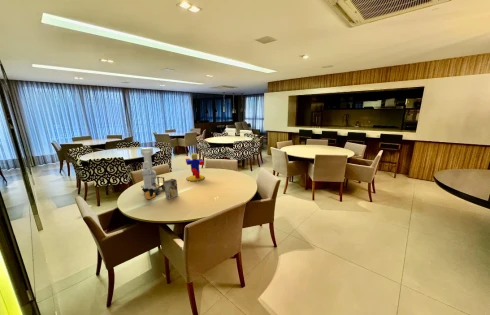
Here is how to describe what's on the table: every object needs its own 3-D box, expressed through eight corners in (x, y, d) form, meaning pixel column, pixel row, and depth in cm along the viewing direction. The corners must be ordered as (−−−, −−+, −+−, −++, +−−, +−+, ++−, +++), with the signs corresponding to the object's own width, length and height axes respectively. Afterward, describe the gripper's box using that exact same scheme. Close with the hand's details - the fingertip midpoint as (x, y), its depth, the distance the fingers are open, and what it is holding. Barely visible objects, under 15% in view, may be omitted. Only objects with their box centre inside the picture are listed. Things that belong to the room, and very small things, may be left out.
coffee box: (173, 194, 185) (172, 178, 181) (178, 195, 181) (176, 179, 178) (165, 197, 177) (163, 181, 173) (170, 199, 174) (168, 182, 170)
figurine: (203, 174, 241) (201, 151, 234) (206, 180, 222) (205, 154, 215) (185, 177, 233) (183, 152, 226) (187, 183, 213) (185, 156, 206)
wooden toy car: (155, 195, 181) (153, 183, 178) (143, 194, 185) (142, 181, 182) (167, 189, 197) (166, 177, 194) (156, 187, 201) (155, 176, 198)
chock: (145, 198, 174) (144, 192, 173) (151, 195, 180) (150, 189, 179) (149, 199, 172) (149, 193, 171) (155, 196, 179) (154, 190, 178)
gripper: (137, 182, 170) (139, 196, 173) (150, 184, 166) (152, 198, 169) (143, 179, 177) (145, 193, 180) (156, 181, 172) (158, 195, 176)
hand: (149, 195), depth 175 cm, fingers closed on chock, 5 cm apart
